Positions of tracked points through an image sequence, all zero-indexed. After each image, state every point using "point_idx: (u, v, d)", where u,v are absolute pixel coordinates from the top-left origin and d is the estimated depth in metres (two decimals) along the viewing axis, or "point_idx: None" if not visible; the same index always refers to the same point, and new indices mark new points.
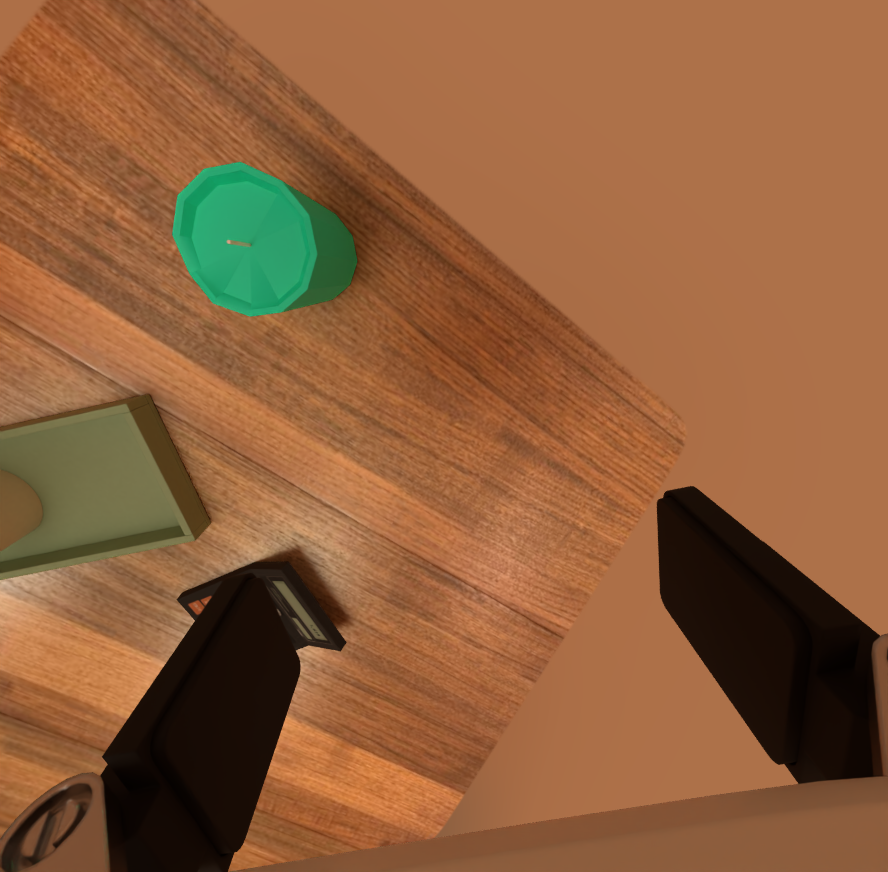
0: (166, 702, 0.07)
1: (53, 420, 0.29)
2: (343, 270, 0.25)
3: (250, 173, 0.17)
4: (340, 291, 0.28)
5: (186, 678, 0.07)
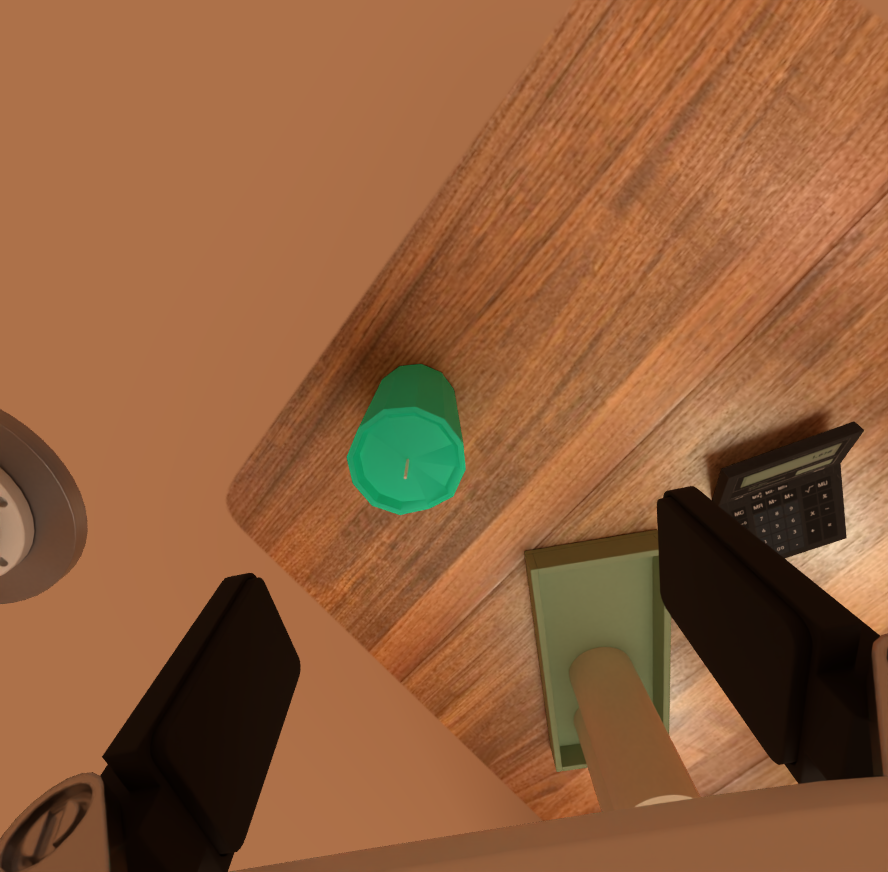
0: (166, 701, 0.07)
1: (537, 620, 0.35)
2: (429, 379, 0.27)
3: (354, 451, 0.21)
4: (447, 382, 0.30)
5: (186, 678, 0.07)
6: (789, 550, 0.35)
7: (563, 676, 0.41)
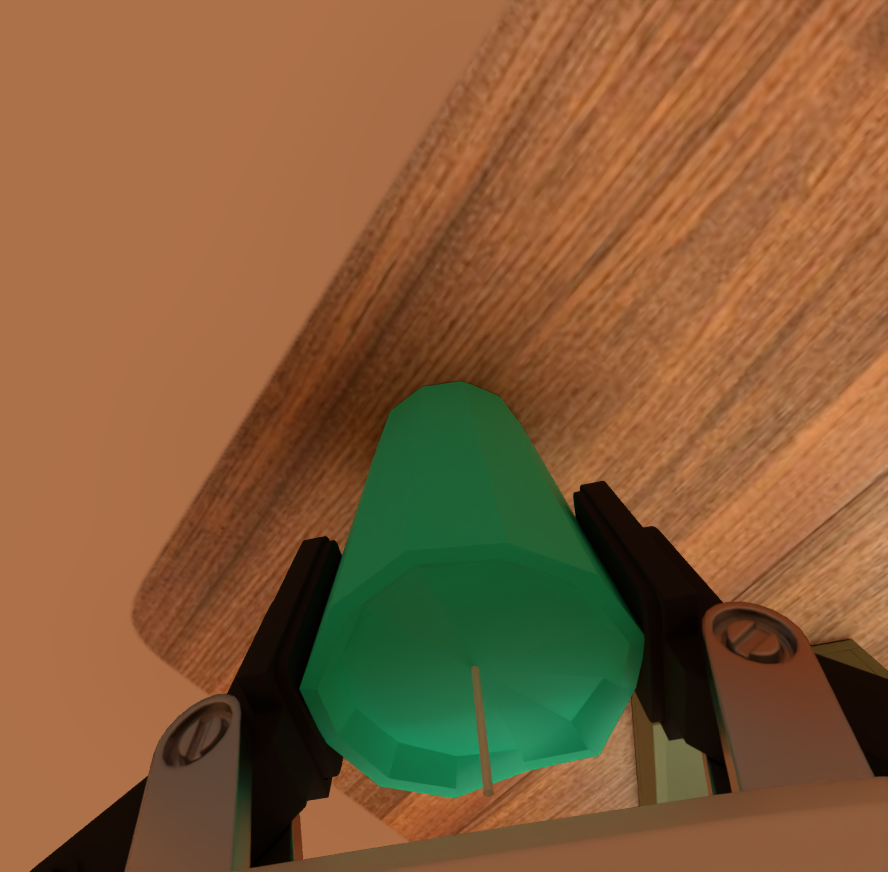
0: (281, 637, 0.07)
1: (657, 795, 0.21)
2: (489, 417, 0.13)
3: (320, 671, 0.07)
4: (512, 415, 0.16)
5: (292, 619, 0.08)
6: None
7: None
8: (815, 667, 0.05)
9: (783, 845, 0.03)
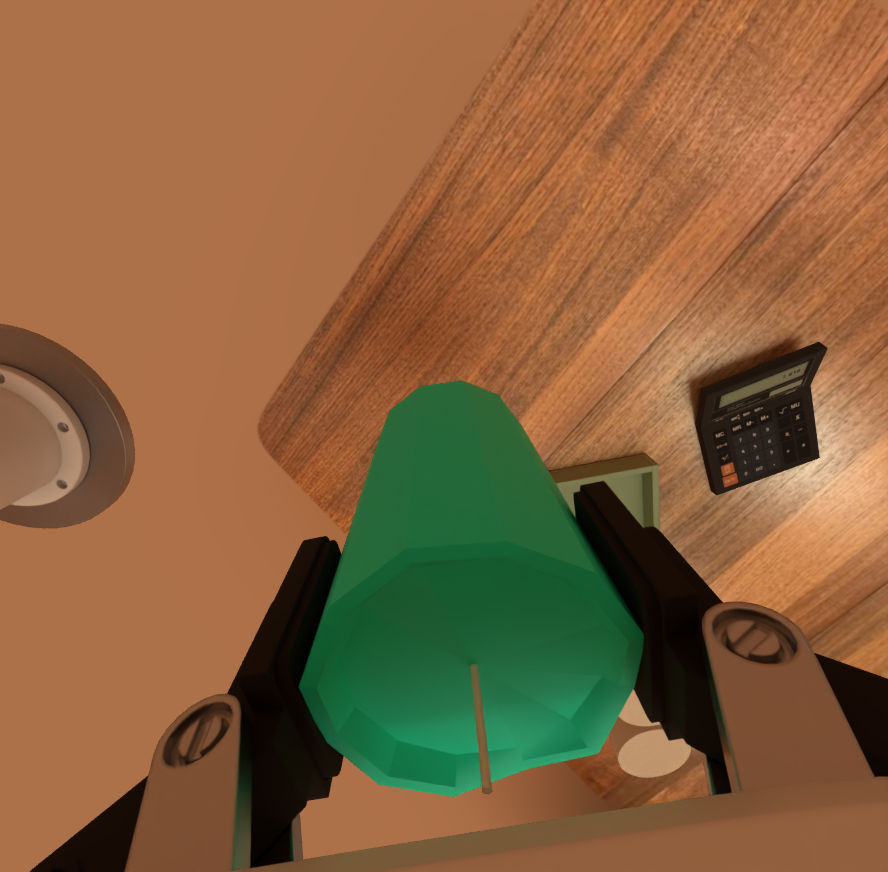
0: (281, 637, 0.07)
1: None
2: (489, 417, 0.13)
3: (320, 669, 0.07)
4: (512, 414, 0.16)
5: (292, 619, 0.08)
6: (767, 470, 0.39)
7: None
8: (815, 667, 0.05)
9: (783, 845, 0.03)
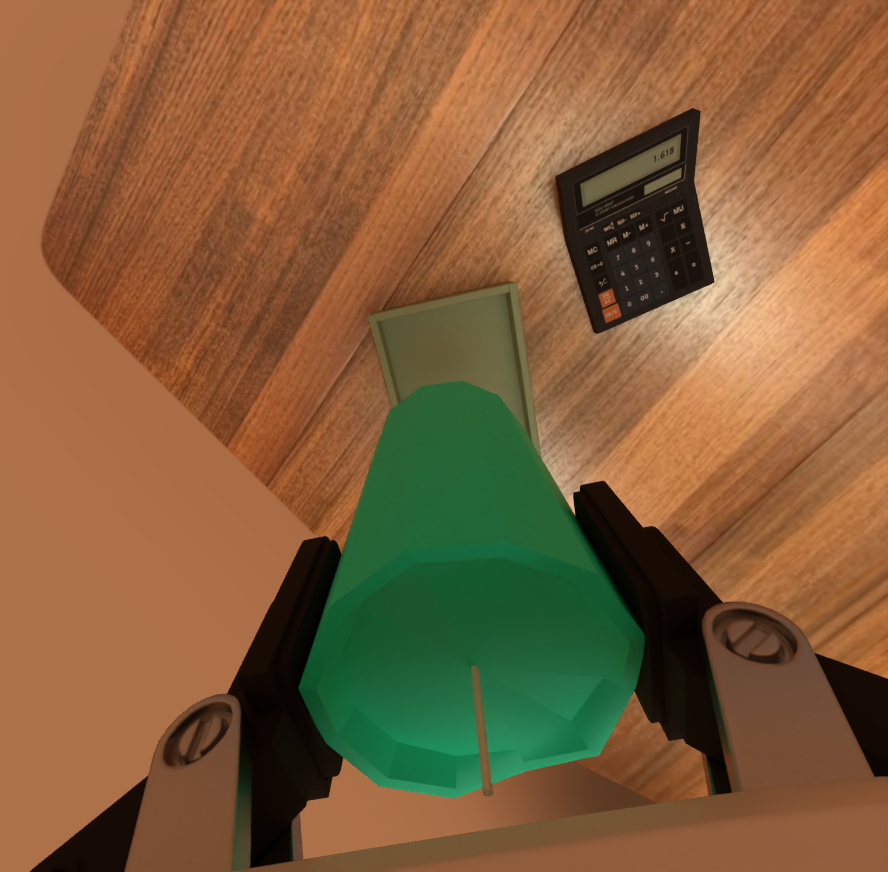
0: (281, 637, 0.07)
1: (386, 383, 0.33)
2: (489, 416, 0.13)
3: (320, 671, 0.07)
4: (512, 414, 0.16)
5: (292, 619, 0.08)
6: (654, 299, 0.33)
7: None
8: (815, 667, 0.05)
9: (784, 845, 0.03)
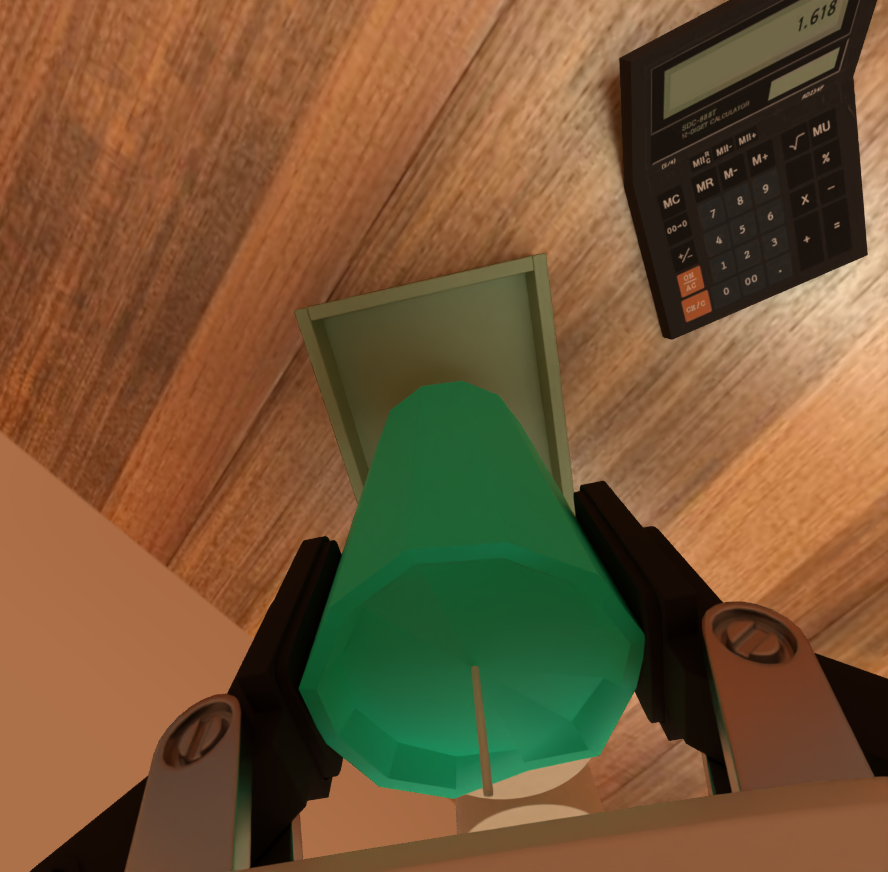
0: (281, 636, 0.07)
1: (331, 421, 0.20)
2: (489, 417, 0.13)
3: (320, 671, 0.07)
4: (512, 414, 0.16)
5: (292, 619, 0.08)
6: (766, 283, 0.20)
7: None
8: (815, 667, 0.05)
9: (783, 845, 0.03)
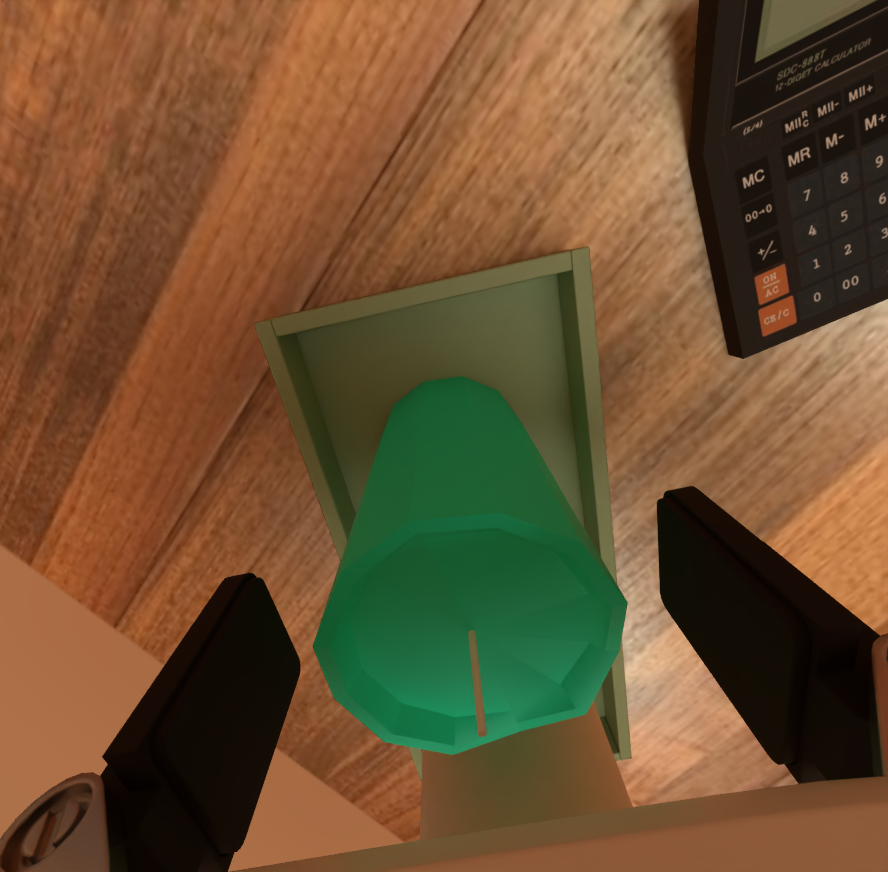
0: (166, 702, 0.07)
1: (306, 464, 0.16)
2: (487, 409, 0.13)
3: (332, 630, 0.08)
4: (510, 408, 0.16)
5: (186, 678, 0.07)
6: (870, 287, 0.16)
7: None
8: None
9: (782, 845, 0.03)
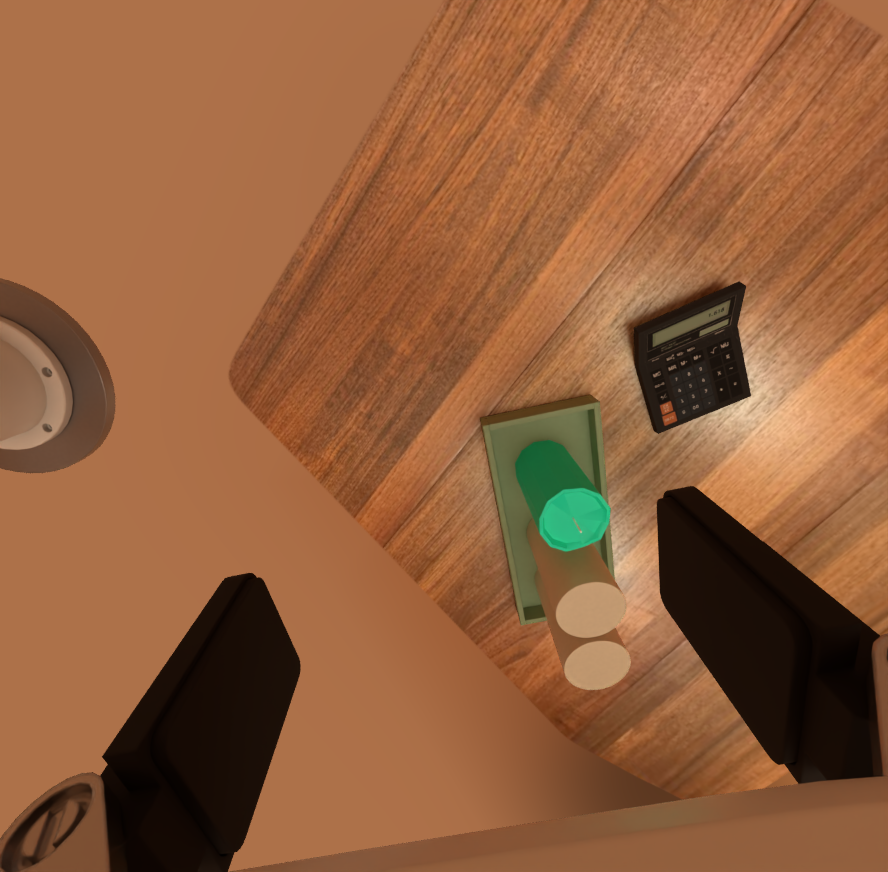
0: (166, 701, 0.07)
1: (492, 474, 0.42)
2: (565, 456, 0.40)
3: (543, 515, 0.34)
4: None
5: (186, 678, 0.07)
6: (703, 408, 0.42)
7: (522, 537, 0.47)
8: None
9: (782, 845, 0.03)
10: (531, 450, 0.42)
